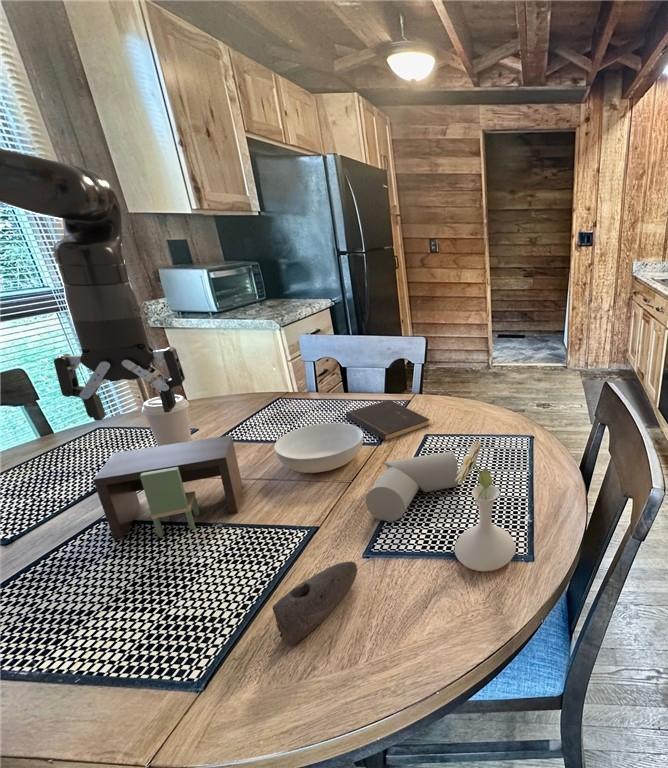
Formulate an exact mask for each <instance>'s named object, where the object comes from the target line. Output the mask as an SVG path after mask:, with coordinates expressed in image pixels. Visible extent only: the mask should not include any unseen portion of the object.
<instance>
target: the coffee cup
mask: <svg viewBox="0 0 668 768" xmlns="http://www.w3.org/2000/svg"><path fill="white" fill-rule="evenodd" d="M174 396H175V400H176V404H175V406H174V408H172V410H171V412H166V413H165V412H164V409H163V405H162V401H161V398H160V396H157V397H152V398H150V399H147V400H146V401H145V402H143V406H142V407H141V414H142V415H144V416H145V418H146V421H147V423H148V425H149V428H150V430H151V433H152V435H153V437H154V440H155V442H156V446H163V445H169V444H176V443H183V442H189V441H193V440H192V432H191V424H190V418H189V409H188V407H189V406H190V403H189V401H188V400H187V399H186V398H185V397H184V396H183V395H180V394H174Z"/></svg>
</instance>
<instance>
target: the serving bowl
mask: <svg viewBox="0 0 668 768" xmlns="http://www.w3.org/2000/svg"><path fill="white" fill-rule="evenodd" d="M363 443H364V432H363V430H362V429H361V428H360V427H358V426H357V425H354V424H350V423H343V422H324V423H323V422H322V423H314V424H309V425H305V426H302V427H298V428H296V429H292V430H291V431H288V432H287V433H285V434H284V435H282V436H280V437H279V438H278V439H277V440H276V442H275V443H274V445H273V450H274V452H275V455H276V458H277V459H278V461H279V462H280V463H281V464H282V465H283V466H284V467H286V468H287V469H289V470H292V471H295V472H298V473H304V474H305V473H306V474H313V473H314V474H315V473H323V472H328V471H332V470H335V469H338V468H340V467H343V466H344V465H346V464H348V463H349V462H351V461H352V460H354V459H355V457H357V455H358V454H359V453H360V451H361V449H362V446H363Z"/></svg>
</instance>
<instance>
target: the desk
mask: <svg viewBox="0 0 668 768" xmlns="http://www.w3.org/2000/svg"><path fill="white" fill-rule="evenodd" d="M174 467H178V468H179V472H180V476H181V479H182V483H189V482H193V481H195V482H196V481H199V480H204V479H210V478H215V477H220V479H221V483H222V488H223V492H224V496H225V500H226V505H227V509H228V514H229V515H233V514H238V513H239V511H240V510H239V509H240V503H241V497H242V492H243V482H242V477H241V472H240V467H239V463H238V458H237V453H236V449H235V444H234V440H233V435H223V436H218V437H210V438H204V439H197V440H192V441H189V442H183V443H176V444H169V445H163V446H158V445H156V446H151V447H144V448H137V449H131V450H124V451H117V452H113V453H112V455H111V456H110V457H109V459H108V460H107V461H106V463H104V465H103V466H102V467H101V469H100V471H98V473H97V474H96V475H95V476H94V478H93V479H92V481H93V484H94V486H95V490H96V492H97V495H98V498H99V501H100V504H101V507H102V510H103V513H104V515H105V519H106V522H107V525H108V526H109V530H110V533H111V536H112V538H113V540H114V541H116V540H121V539H125V537H126V535H127V533H128V531H129V530H130V527H131V525H132V524H133V522H134V521H135V518H136V517H137V514H138V512H139V510H140V509H141V507H142V505H141V503H140V499H139V495H138V493H137V492H140V491H144V488H143V485H142V481H141V478H140V475H141V473H144V472H150V471H156V470H162V469H168V468H174Z"/></svg>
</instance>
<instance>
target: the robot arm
mask: <svg viewBox="0 0 668 768" xmlns="http://www.w3.org/2000/svg"><path fill="white" fill-rule="evenodd" d="M0 204H3V205H6V206H9V207H13V208H16V209H19V210H22V211H25V212H28V213H32V214H36V215H39V216H43V217H49V218H53V219H58V220H62V227H63V237H62V238H61V239H60V240H58V241H57V242H55V243H54V244H53V248H52V250H53V257H54V259H55V264H56V267H57V270H58V273H59V276H60V279H61V283H62V287H63V291H64V300H65V303H66V306H67V310H68V313H69V316H70V320H71V322H72V325H73V328H74V331H75V334H76V338H77V340H78V344H79V347H80V349H81V355H71V354H69V353H62V354H61V355H59V356H58V357H56V358H54V359H53V365H54V368H55V373H56V376H57V380H58V384H59V389H60V393H61V395H62V396H63V397H65V398H66V397H67V398H69V397H75V398H79V399H81V400H82V402H83V405H84V408H85V412H86V414H87V416H88V417H89V418H90V419H92V418H93V420H94V421H95V422H97V421H103V420H104V419H105V418H106V412H105V408H104V405H103V402H102V399H101V396H100V393H97V392H98V390H99V389H100V387H101V386H102V384H103V383H104V382H105V381H109V382H110V383H111V382H114V383H115V382H119V381H122V380H125V381H126V380H127V381H136V380H137V379H140V378H141V379H142V380H144V381H145V382H146V383H149V384H152V385H153V386H154V387H156V388H158V389H159V391H158V394H159V397H160V398H161V401H162V405H163V409H164V412H165V413H166V412H171V410H172V408H174V406H175V404H176V400H175V396H174V395H175V392H174V388H175V387H180V386H182V384H183V383H184V382H185V381H186V376H185V373H184V371H183V367H182V363H181V361H180V357H179V354H178V352H177V349H176V348H175V347H173V346H169V347H167V348H164V349H163V348H162V349H155V350H154V349H153V348H151V346H150V344H149V340H148V337H147V334H146V329H145V325H144V322H143V318H142V314H141V307H140V304H139V303H138V299H137V295H136V294H135V291H134V290H133V289H134V288H133V286H132V284H131V282H130V281H131V280H130V277H129V274H128V273H129V272H128V268H127V265H126V262H125V258H124V255H123V252H122V243H123V227H122V226H123V224H122V222H123V221H122V211H121V204H120V201H119V199H118V196H117V194H116V192H115V189H113V187H112V185H111V184H110V183H109V182H108V180H106V179H105V178H104V176H102V175H100V174H99V173H97V172H96V171H94V170H92V169H88V168H86V167H82V166H78V165H73V164H69V163H64V162H60V161H56V160H51V159H47V158H42V157H39V156H35V155H29V154H25V153H22V152H17V151H12V150H8V149H4V148H1V147H0ZM155 358H156V359H158V360H159V361H160V362H161V363H162V364H166V367H167V370H168V373H169V376H170V378H168V377H167V376H166V375H164V374H163V373H162V372H161V370H159V369H158V368H157V367H155V366H154V365H152V363H153V361H154V359H155ZM80 364H82V365H83V366H84V367H86V368H87V369H88V370H90V371H91V372H93V373H92V375H91V376H90V377H89V379H88V380H87V382H86V383H85V385H84V386H83V385H80V383H79V378H78V375H77V369H79V367H80Z"/></svg>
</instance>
